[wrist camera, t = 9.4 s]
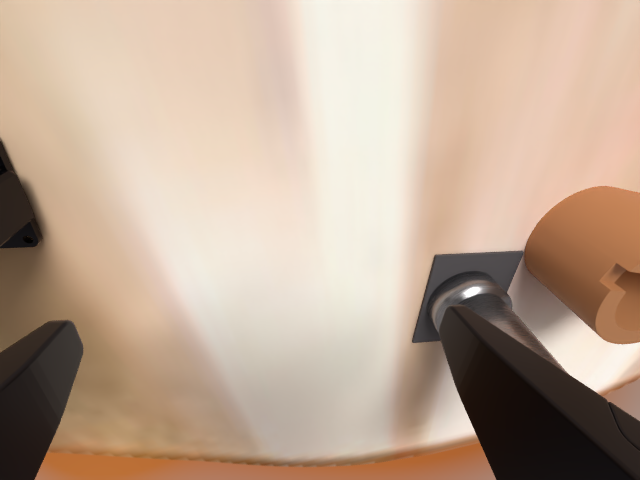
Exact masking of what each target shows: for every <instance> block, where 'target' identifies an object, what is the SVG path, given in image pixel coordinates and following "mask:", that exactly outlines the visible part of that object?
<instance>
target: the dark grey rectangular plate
mask: <svg viewBox="0 0 640 480" xmlns="http://www.w3.org/2000/svg"><path fill="white" fill-rule="evenodd" d="M523 253H524V252H523V251H508V252H486V253H464V254H442V255H435V258H434V261H433V265H432V269H431V272H430V276H429V280H428V284H427V287H426V291H425V295H424V299H423V302H422V306H421V310H420V314H419V317H418V321H417V325H416V329H415V332H414V336H413V340H412V342H413V343H419V342H431V341H441V339H440V336H439V333H438V331H437V330H436V328H435V326H434V324H433V323H432V321H431V319H430V317H429V315H428V313H427V303H428V300H429V298H430V296H431V294H432V293H433V291H434V290H435V289H436V288H437V287H438V286H439V285H440V284H441V283H442V282H444V281H445V280H447V279H448V278H450V277H452V276H454V275H457V274H459V273H463V272H468V271H480V272H484V273H487V274H488V275H490V276H491V277H492V278H493V279H494V280H495V281H496V282H497V283H498V284H499V285H500V286H501V288H502V289H503V290H504V291H505V292H506V293H507V291H508V288H509V286H510V284H511V281H512V279H513V277H514V274H515V272H516V270H517V267H518V265H519V263H520V260H521V258H522V256H523Z"/></svg>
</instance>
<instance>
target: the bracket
mask: <svg viewBox="0 0 640 480" xmlns="http://www.w3.org/2000/svg"><path fill="white" fill-rule="evenodd" d="M524 256H525V264H526V266H527V268H528V270H529V271H530V272H531V273H532V274H533V275H534V276H535V277H536V278H537V279H538V280H539V281H540V282H541V283H542V284H543V285H545V286H546V287H547V288H548V289H549V290H550V291H551V292H552V293H553V294H554V295H555V296H557V297H558V298H559V299H560V300H561V301H562V302H563V303H564V304H565V305H566V306H567V307H568V308H570V309H571V310H572V311H573V312H574V313H575V314H576V315H577V316H578V317H579V318H580V319H581V320H583V321H584V322H585V323H586V324H587V325H588V326H589V327H590V328H591V329H592V330H593V331H595V332H596V333H597V334H598V335H599V336H600V337H601V338H602V339H604V340H605V341H607V342H610V343H615V344H631V343H637V342H640V193H638V192H633V191H628V190H624V189H619V188H615V187H609V186H599V187H593V188H589V189H585V190H582V191H580V192H577V193H575V194H573V195H571V196H569V197H567V198H566V199H564V200H563V201H561V202H560V203H558V204H557V205H556V206H554V207H553V208H552V209H551V210H550V211H549V212H548V213H546V214H545V216H544V217H543V218H542V219H541V220H540V221H539V222H538V224H537V225H536V227H535V228H534V230H533V231H532V233H531V235H530V237H529V239H528V241H527V244H526V248H525V255H524Z"/></svg>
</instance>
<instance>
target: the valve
mask: <svg viewBox="0 0 640 480" xmlns="http://www.w3.org/2000/svg"><path fill="white" fill-rule="evenodd" d="M449 305H464V306H466V307H468V308H469V309H471V310H472V311H474V312H475V313H477V314H478V315H480V316H481V317H483V318H484V319H486V320H487V321H489V322H490V323H492V324H493V325H495V326H496V327H498V328H499V329H501V330H502V331H504V332H505V333H507V334H508V335H510V336H511V337H513V338H514V339H516V340H517V341H519V342H521V343H522V344H524V345H525V346H527V347H528V348H530V349H531V350H533V351H534V352H536V353H537V354H539V355H540V356H542V357H543V358H545V359H546V360H548V361H549V362H551V363H552V364H554V365H555V366H557V367H558V368H560V369H561V370H563V371H564V372H566V371H565V370H564V369H563V367H562V366H561V365H560V364H559V363H558V362H557V361H556V359H555V358H554V357H553V356H552V355H551V354H550V353H549V351H548V350H547V349H546V348H545V347H544V346H543V345H542V344H541V342H540V341H539V340H538V339H537V338H536V337H535V336H534V334H533V333H532V332H531V331H530V330H529V329H528V328H527V327H526V325H525V324H524V323H523V322H522V321H521V320H520V319H519V317H518V316H517V315H516V314H515V313H514V312H513V311H512V301H511V298H510V297H509V295H508V294H507V293H506V292H505V291H504V290H503V289H502V288H501V286H500V285H499V284H498V283H497V282H496V281H495V280H494V279H493V278H492V277H491V276H490V275H488V274H487V273H484V272H480V271H468V272H463V273H459V274H457V275H454V276H452V277H450V278H448V279H447V280H445V281H444V282H442V283H441V284H440V285H439V286H438V287H437V288H436V289H435V290H434V291H433V293H432V294H431V296H430V298H429V300H428V303H427V313H428V315H429V317H430V319H431V321H432V323H433V324H434V326H435V328H436V330H437V331H438V333H439V327H440V324H441V321H442V318H443V315H444V312H445V309H446V308H447V307H448V306H449ZM566 373H567V372H566ZM567 374H568V373H567Z"/></svg>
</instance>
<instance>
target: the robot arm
mask: <svg viewBox="0 0 640 480" xmlns="http://www.w3.org/2000/svg"><path fill="white" fill-rule="evenodd" d="M27 236H30V237H32V239H33V240H32V239H29V238H28V237H27ZM41 240H42V235H41V233H40V231H39V228H38V226H37V224H36V221H35V219H34V214H33V212H32V209H31V207H30V205H29V202H28V200H27V198H26V196H25V193H24V191H23V189H22V186H21V184H20V182H19V179H18V177H17V175H16V174H15V173H14V171H13V169H12V167H11V165H10V162H9V160H8V158H7V156H6V153H5V151H4V149H3V146H2V144H1V142H0V248H21V247H35V246H36V245H38V244H39V243H40V242H41ZM439 336H440V339H441V342H442V346H443V349H444V352H445V355H446V358H447V361H448V364H449V367H450V370H451V373H452V376H453V380H454V383H455V385H456V388H457V391H458V393H459V396H460V398H461V401H462V403H463V405H464V407H465V410H466V412H467V414H468V416H469V419H470V421H471V423H472V425H473V428H474V430H475V432H476V435H477V437H478V439H479V441H480V444H481V446H482V448H483V450H484V452H485V455H486V457H487V459H488V462H489V464H490V466H491V469H492V470H493V473H494V475H495V477H496V480H640V421H639V420H637V419H636V418H634V417H632V416H631V415H629V414H628V413H626V412H625V411H623V410H622V409H620V408H619V407H617V406H616V405H614V404H613V403H611V402H608V401H607V400H606V399H605V398H604V397H602V396H601V395H599V394H598V393H596V392H595V391H593V390H592V389H590V388H588V387H587V386H585V385H584V384H582V383H581V382H579V381H578V380H576V379H575V378H573V377H572V376H570V375H569V374H567V373H566V372H564V371H563V370H561V369H560V368H558V367H557V366H555V365H554V364H552V363H551V362H549V361H548V360H546V359H545V358H543V357H542V356H540V355H539V354H537V353H536V352H534V351H533V350H531V349H530V348H528V347H527V346H525V345H524V344H522V343H521V342H519V341H517V340H516V339H514V338H513V337H511V336H510V335H508V334H507V333H505V332H504V331H502V330H501V329H499V328H498V327H496V326H495V325H493V324H492V323H490V322H489V321H487V320H486V319H484V318H483V317H481V316H480V315H478V314H477V313H475V312H474V311H472V310H471V309H469V308H468V307H466V306H464V305H449V306H448V307H447V308H446V309H445V312H444V315H443V318H442V321H441V324H440V327H439ZM82 355H83V344H82V341H81V339H80V337H79V334H78V332H77V330H76V327H75V325H74V323H73V322H72V321H70V320H54V321H49V322H47V323H45V324H44V325H42V326H41V327H39V328H38V329H36V330H35V331H33V332H31V333H30V334H28V335H27V336H25V337H24V338H22V339H21V340H19V341H18V342H16V343H15V344H13V345H12V346H10V347H8V348H7V349H5V350H4V351H2V352H1V353H0V480H34V479H35V477H36V475H37V473H38V470H39V468H40V466H41V464H42V462H43V460H44V457H45V455H46V453H47V451H48V449H49V446H50V444H51V442H52V440H53V437H54V435H55V433H56V431H57V428H58V426H59V424H60V421H61V418H62V416H63V413H64V410H65V407H66V404H67V401H68V398H69V395H70V392H71V389H72V386H73V383H74V380H75V377H76V374H77V371H78V368H79V365H80V362H81V358H82Z"/></svg>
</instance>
